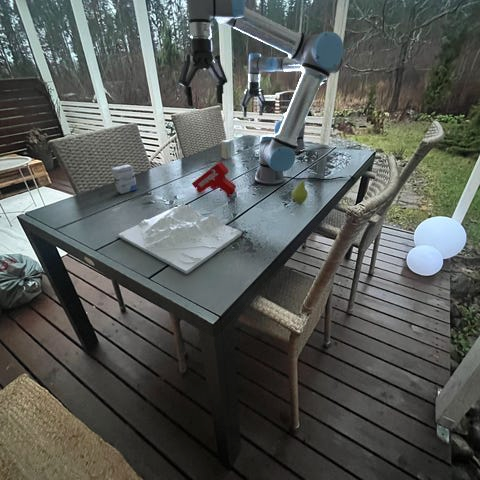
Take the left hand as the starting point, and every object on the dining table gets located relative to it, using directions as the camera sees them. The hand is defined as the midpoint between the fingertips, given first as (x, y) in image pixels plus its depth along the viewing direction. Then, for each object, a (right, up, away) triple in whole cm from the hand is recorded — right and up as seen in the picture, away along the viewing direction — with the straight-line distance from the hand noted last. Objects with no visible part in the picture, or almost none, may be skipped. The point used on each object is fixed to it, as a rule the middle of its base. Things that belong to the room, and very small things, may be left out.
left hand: (205, 104), depth 109 cm
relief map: (-8, -53, -11) cm, 55 cm away
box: (+5, 0, +72) cm, 72 cm away
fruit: (+40, -37, +13) cm, 57 cm away
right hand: (+23, +33, +83) cm, 93 cm away
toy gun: (+1, -32, +22) cm, 39 cm away
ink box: (-42, -30, +25) cm, 57 cm away
